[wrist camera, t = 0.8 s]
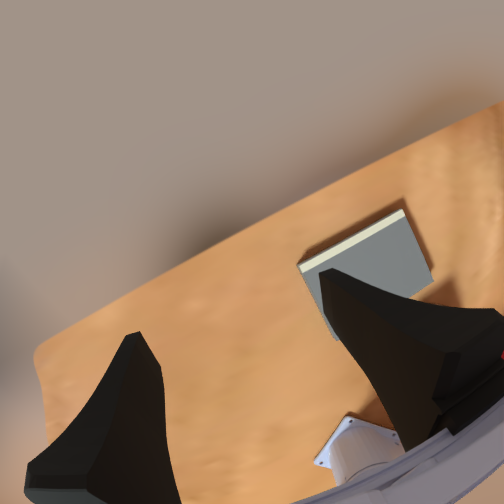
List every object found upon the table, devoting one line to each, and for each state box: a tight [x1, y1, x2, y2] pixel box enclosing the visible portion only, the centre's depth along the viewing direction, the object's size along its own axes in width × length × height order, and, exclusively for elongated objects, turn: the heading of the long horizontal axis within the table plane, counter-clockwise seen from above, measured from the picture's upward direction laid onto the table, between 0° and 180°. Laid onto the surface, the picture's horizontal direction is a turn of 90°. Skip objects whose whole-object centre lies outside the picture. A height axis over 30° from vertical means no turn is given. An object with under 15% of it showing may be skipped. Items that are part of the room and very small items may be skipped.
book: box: [297, 209, 434, 341], centre depth 32 cm, size 13×9×2 cm
